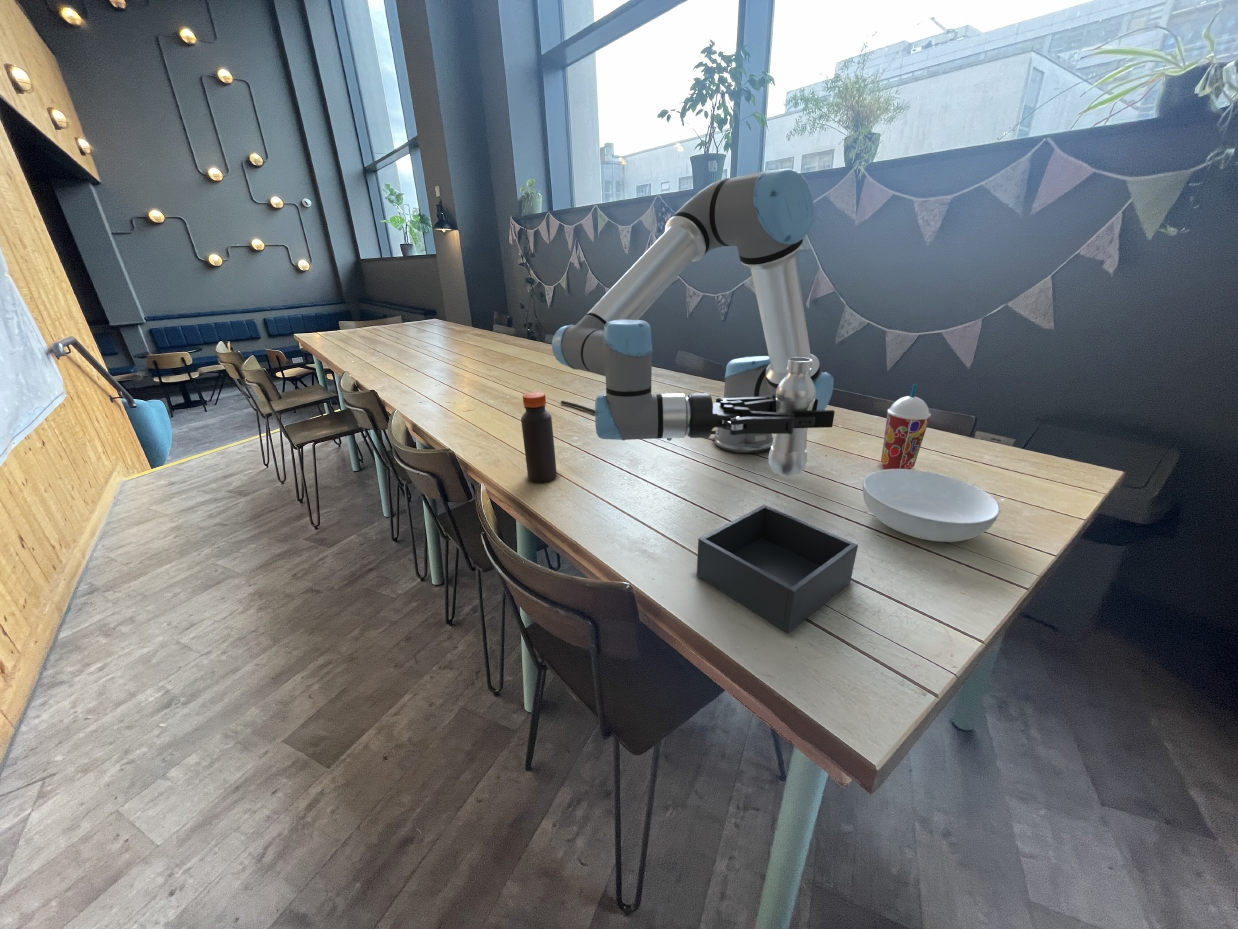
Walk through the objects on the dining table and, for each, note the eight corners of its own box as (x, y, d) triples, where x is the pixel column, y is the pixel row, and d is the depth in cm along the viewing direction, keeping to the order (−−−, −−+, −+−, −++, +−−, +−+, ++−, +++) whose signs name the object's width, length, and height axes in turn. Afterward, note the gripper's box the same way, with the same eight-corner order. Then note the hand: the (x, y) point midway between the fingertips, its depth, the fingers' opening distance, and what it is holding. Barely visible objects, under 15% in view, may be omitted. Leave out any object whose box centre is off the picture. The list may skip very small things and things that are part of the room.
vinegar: (540, 485, 107) (531, 400, 99) (522, 478, 111) (512, 395, 103) (562, 476, 111) (555, 394, 103) (544, 468, 116) (536, 389, 108)
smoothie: (922, 476, 105) (944, 389, 97) (882, 474, 107) (900, 388, 99) (909, 462, 113) (928, 380, 105) (871, 460, 114) (888, 379, 106)
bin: (696, 575, 75) (698, 538, 72) (760, 538, 84) (763, 504, 82) (787, 633, 63) (794, 591, 60) (850, 583, 72) (858, 544, 69)
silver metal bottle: (804, 467, 85) (820, 356, 77) (805, 482, 79) (822, 364, 72) (768, 463, 87) (779, 354, 79) (765, 478, 82) (778, 362, 74)
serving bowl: (936, 571, 74) (946, 534, 72) (832, 512, 92) (838, 481, 89) (1016, 539, 82) (1029, 504, 79) (906, 490, 99) (913, 461, 97)
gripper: (679, 419, 89) (800, 416, 89) (694, 458, 72) (845, 454, 72) (680, 380, 86) (806, 377, 86) (696, 411, 69) (853, 407, 69)
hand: (823, 412), depth 79 cm, fingers closed on silver metal bottle, 6 cm apart
